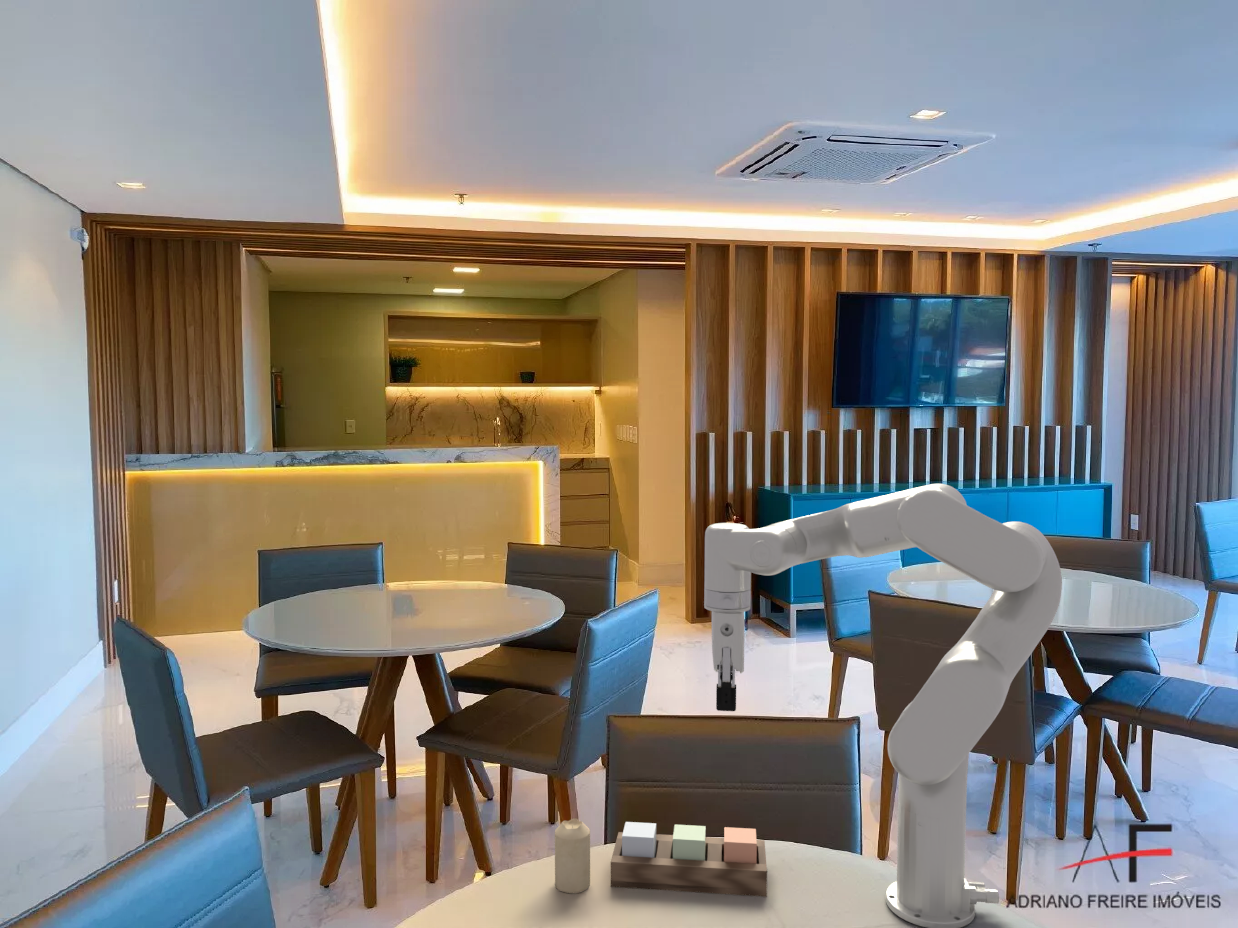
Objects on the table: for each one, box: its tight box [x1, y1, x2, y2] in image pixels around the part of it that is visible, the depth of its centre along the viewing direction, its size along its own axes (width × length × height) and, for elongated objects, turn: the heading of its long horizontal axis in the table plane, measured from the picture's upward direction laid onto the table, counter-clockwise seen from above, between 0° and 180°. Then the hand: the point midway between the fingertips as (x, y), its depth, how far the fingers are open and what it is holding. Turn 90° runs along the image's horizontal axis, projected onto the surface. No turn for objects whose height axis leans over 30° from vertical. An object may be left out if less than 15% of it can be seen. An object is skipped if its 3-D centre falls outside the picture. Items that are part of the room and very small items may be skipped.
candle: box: [554, 817, 591, 894], centre depth 140 cm, size 6×6×10 cm
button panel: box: [610, 831, 768, 898], centre depth 143 cm, size 24×10×4 cm, turn 83°
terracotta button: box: [723, 826, 757, 864], centre depth 142 cm, size 5×5×4 cm
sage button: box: [672, 824, 707, 861], centre depth 143 cm, size 5×5×4 cm
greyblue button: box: [622, 821, 657, 858], centre depth 144 cm, size 5×5×4 cm
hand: (726, 709), depth 148 cm, fingers closed
